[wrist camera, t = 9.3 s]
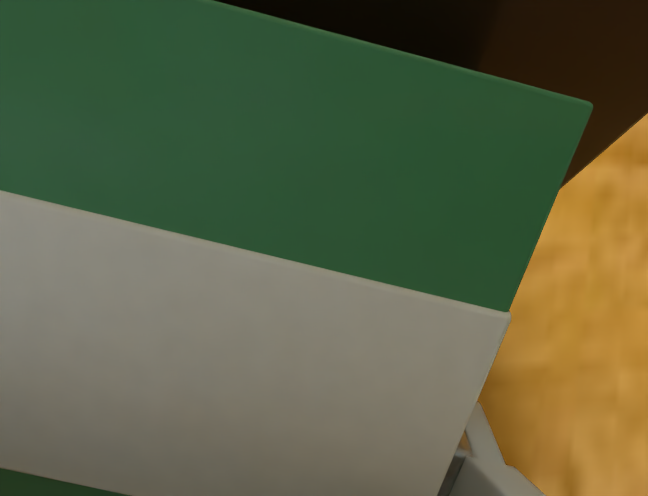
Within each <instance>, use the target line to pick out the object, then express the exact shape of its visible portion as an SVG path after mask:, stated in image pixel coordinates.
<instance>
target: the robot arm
mask: <svg viewBox="0 0 648 496" xmlns="http://www.w3.org/2000/svg"><path fill="white" fill-rule="evenodd" d="M437 496H546V495H545V494H544V493H543V492H541V491H540V490H539V489H538V488H537V487H536V486H535V485H534V484H533V483H531V482H530V481H529V480H528V479H527V478H526V477H525V476H524V475H523V474H522V473H520V472H519V471H518V470H517V469H516V468H515V467H512V466H508V465H506V464H505V461H504V459H503V457H502V454H501V452H500V449H499V447H498V445H497V442H496V440H495V437H494V435H493V432H492V430H491V428H490V425H489V423H488V420H487V418H486V416H485V413H484V411H483V408H482V406H481V404H480V403H479V402H478V401H477V402H476V404H475V407H474V409H473V411H472V414H471V416H470V418H469V421H468V423H467V425H466V428H465V430H464V433H463V435H462V437H461V440H460V442H459V444H458V447H457V449H456V451H455V454H454V456H453V459H452V461H451V463H450V466H449V468H448V470H447V473H446V475H445V478H444V480H443V482H442V485H441V487H440V489H439V492H438V494H437Z"/></svg>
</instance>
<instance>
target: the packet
mask: <svg viewBox="0 0 648 496" xmlns="http://www.w3.org/2000/svg"><path fill="white" fill-rule="evenodd" d="M592 110H593V104H592V103H590V102H589V101H586V100H582V99H578V98H574V97H571V96H567V95H563V94H560V93H556V92H552V91H548V90H545V89H541V88H537V87H534V86H530V85H526V84H522V83H519V82H515V81H511V80H508V79H504V78H500V77H497V76H493V75H489V74H485V73H482V72H478V71H474V70H471V69H467V68H463V67H459V66H456V65H452V64H448V63H445V62H441V61H437V60H433V59H430V58H426V57H422V56H419V55H415V54H411V53H407V52H404V51H400V50H396V49H393V48H389V47H385V46H381V45H378V44H374V43H370V42H367V41H363V40H359V39H355V38H352V37H348V36H344V35H341V34H337V33H333V32H330V31H326V30H322V29H318V28H315V27H311V26H307V25H304V24H300V23H296V22H292V21H289V20H285V19H281V18H278V17H274V16H270V15H266V14H263V13H259V12H255V11H252V10H248V9H244V8H240V7H237V6H233V5H229V4H226V3H222V2H218V1H214V0H0V496H437V494H438V492H439V489H440V487H441V485H442V482H443V480H444V478H445V475H446V473H447V470H448V468H449V466H450V463H451V461H452V459H453V456H454V454H455V451H456V449H457V447H458V444H459V442H460V440H461V437H462V435H463V433H464V430H465V428H466V425H467V423H468V421H469V418H470V416H471V414H472V411H473V409H474V407H475V404H476V402H477V399H478V397H479V395H480V392H481V390H482V388H483V385H484V383H485V380H486V378H487V376H488V373H489V371H490V369H491V366H492V364H493V362H494V359H495V357H496V354H497V352H498V350H499V347H500V345H501V343H502V340H503V338H504V336H505V333H506V331H507V328H508V326H509V324H510V321H511V313H510V312H509V309H510V306H511V304H512V301H513V299H514V297H515V294H516V292H517V289H518V287H519V285H520V282H521V280H522V278H523V275H524V273H525V270H526V268H527V266H528V263H529V261H530V258H531V256H532V254H533V251H534V249H535V246H536V244H537V242H538V239H539V237H540V234H541V232H542V230H543V227H544V225H545V222H546V220H547V218H548V215H549V213H550V210H551V208H552V206H553V203H554V201H555V199H556V196H557V194H558V191H559V189H560V187H561V184H562V182H563V179H564V177H565V175H566V172H567V170H568V167H569V165H570V163H571V160H572V158H573V155H574V153H575V151H576V148H577V146H578V143H579V141H580V139H581V136H582V134H583V131H584V129H585V127H586V124H587V122H588V119H589V117H590V115H591V112H592Z"/></svg>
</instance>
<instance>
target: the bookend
mask: <svg viewBox="0 0 648 496" xmlns="http://www.w3.org/2000/svg"><path fill="white" fill-rule="evenodd" d="M214 1H218V2H222V3H226V4H229V5H233V6H237V7H240V8H244V9H248V10H252V11H255V12H259V13H263V14H266V15H270V16H274V17H278V18H281V19H285V20H289V21H292V22H296V23H300V24H304V25H307V26H311V27H315V28H318V29H322V30H326V31H330V32H333V33H337V34H341V35H344V36H348V37H352V38H355V39H359V40H363V41H367V42H370V43H374V44H378V45H381V46H385V47H389V48H393V49H396V50H400V51H404V52H407V53H411V54H415V55H419V56H422V57H426V58H430V59H433V60H437V61H441V62H445V63H448V64H452V65H456V66H459V67H463V68H467V69H471V70H474V71H478V72H482V73H485V74H489V75H493V76H497V77H500V78H504V79H508V80H511V81H515V82H519V83H522V84H526V85H530V86H534V87H537V88H541V89H545V90H548V91H552V92H556V93H560V94H563V95H567V96H571V97H574V98H578V99H582V100H586V101H589V102H590V103H592V104H593V110H592V112H591V115H590V117H589V119H588V122H587V124H586V127H585V129H584V131H583V134H582V136H581V139H580V141H579V143H578V146H577V148H576V151H575V153H574V155H573V158H572V160H571V163H570V165H569V167H568V170H567V172H566V175H565V177H564V179H563V182H562V184H561V187H560V189H561V188H562V187H563V186H564V185H565V184H566V183H568V182H569V181H570V180H571V179H572V178H573V177H575V176H576V175H577V174H578V173H579V172H580V171H581V170H583V169H584V168H585V167H586V166H587V165H588V164H589V163H591V162H592V161H593V160H594V159H595V158H596V157H598V156H599V155H600V154H601V153H602V152H603V151H604V150H606V149H607V148H608V147H609V146H610V145H611V144H613V143H614V142H615V141H616V140H617V139H618V138H619V137H621V136H622V135H623V134H624V133H625V132H626V131H628V130H629V129H630V128H631V127H632V126H633V125H634V124H636V123H637V122H638V121H639V120H640V119H641V118H643V117H644V116H645V115H646V114H647V113H648V0H214ZM560 189H559V190H560Z"/></svg>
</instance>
